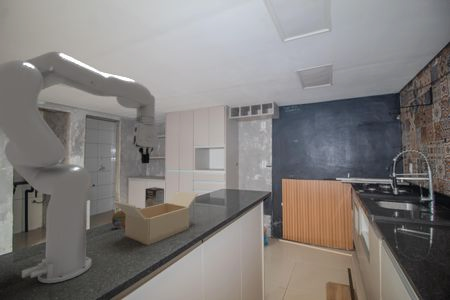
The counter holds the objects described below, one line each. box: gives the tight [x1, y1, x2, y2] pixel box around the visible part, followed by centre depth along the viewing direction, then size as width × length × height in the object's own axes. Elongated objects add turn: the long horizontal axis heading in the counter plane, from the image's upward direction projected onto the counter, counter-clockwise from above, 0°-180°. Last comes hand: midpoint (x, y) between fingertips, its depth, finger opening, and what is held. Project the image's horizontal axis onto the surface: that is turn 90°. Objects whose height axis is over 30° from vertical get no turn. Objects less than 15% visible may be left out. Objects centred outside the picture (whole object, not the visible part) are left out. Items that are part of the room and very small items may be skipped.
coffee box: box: [144, 186, 165, 208], centre depth 113 cm, size 9×6×16 cm
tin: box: [111, 207, 142, 230], centre depth 99 cm, size 15×3×8 cm, turn 129°
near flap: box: [113, 200, 146, 220], centre depth 80 cm, size 8×14×1 cm
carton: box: [124, 202, 190, 246], centre depth 91 cm, size 22×17×10 cm
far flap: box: [168, 191, 198, 208], centre depth 103 cm, size 8×14×1 cm
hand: (145, 163), depth 89 cm, fingers closed
